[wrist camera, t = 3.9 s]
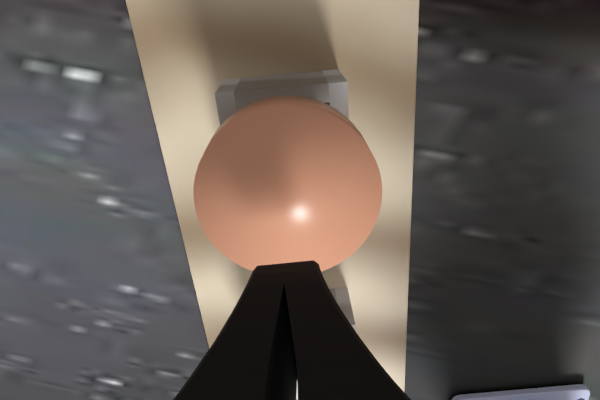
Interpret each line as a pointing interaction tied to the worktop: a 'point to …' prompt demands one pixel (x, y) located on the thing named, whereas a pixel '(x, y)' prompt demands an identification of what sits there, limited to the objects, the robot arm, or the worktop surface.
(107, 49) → the worktop surface
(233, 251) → the peach round domed part
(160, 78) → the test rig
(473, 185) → the worktop surface
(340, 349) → the robot arm
